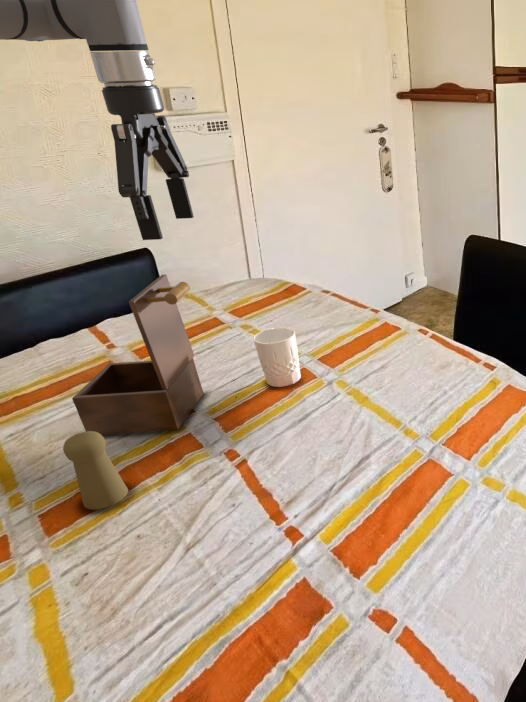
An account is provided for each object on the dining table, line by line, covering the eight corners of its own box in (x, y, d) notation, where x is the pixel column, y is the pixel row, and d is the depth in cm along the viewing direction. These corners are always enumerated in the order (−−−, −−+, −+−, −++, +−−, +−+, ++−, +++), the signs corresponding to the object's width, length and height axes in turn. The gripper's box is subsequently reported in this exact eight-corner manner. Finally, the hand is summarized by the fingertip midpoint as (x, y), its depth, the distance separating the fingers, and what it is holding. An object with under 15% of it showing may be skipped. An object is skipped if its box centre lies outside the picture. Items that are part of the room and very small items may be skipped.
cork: (130, 499, 95) (106, 439, 89) (84, 514, 92) (56, 453, 87) (126, 479, 99) (102, 421, 94) (82, 493, 96) (55, 434, 91)
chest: (87, 436, 111) (71, 398, 107) (122, 398, 123) (109, 363, 119) (178, 429, 112) (165, 392, 108) (203, 393, 124) (193, 358, 120)
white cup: (272, 370, 132) (262, 327, 127) (309, 370, 132) (300, 327, 127) (258, 388, 125) (246, 343, 120) (296, 388, 125) (286, 343, 120)
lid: (128, 301, 100) (165, 298, 100) (161, 274, 112) (194, 271, 112) (162, 390, 108) (196, 386, 108) (190, 356, 120) (221, 353, 120)
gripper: (117, 88, 81) (163, 248, 91) (186, 79, 103) (217, 209, 113) (56, 90, 81) (110, 250, 91) (139, 81, 102) (175, 211, 113)
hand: (170, 228), depth 102 cm, fingers open, 13 cm apart
